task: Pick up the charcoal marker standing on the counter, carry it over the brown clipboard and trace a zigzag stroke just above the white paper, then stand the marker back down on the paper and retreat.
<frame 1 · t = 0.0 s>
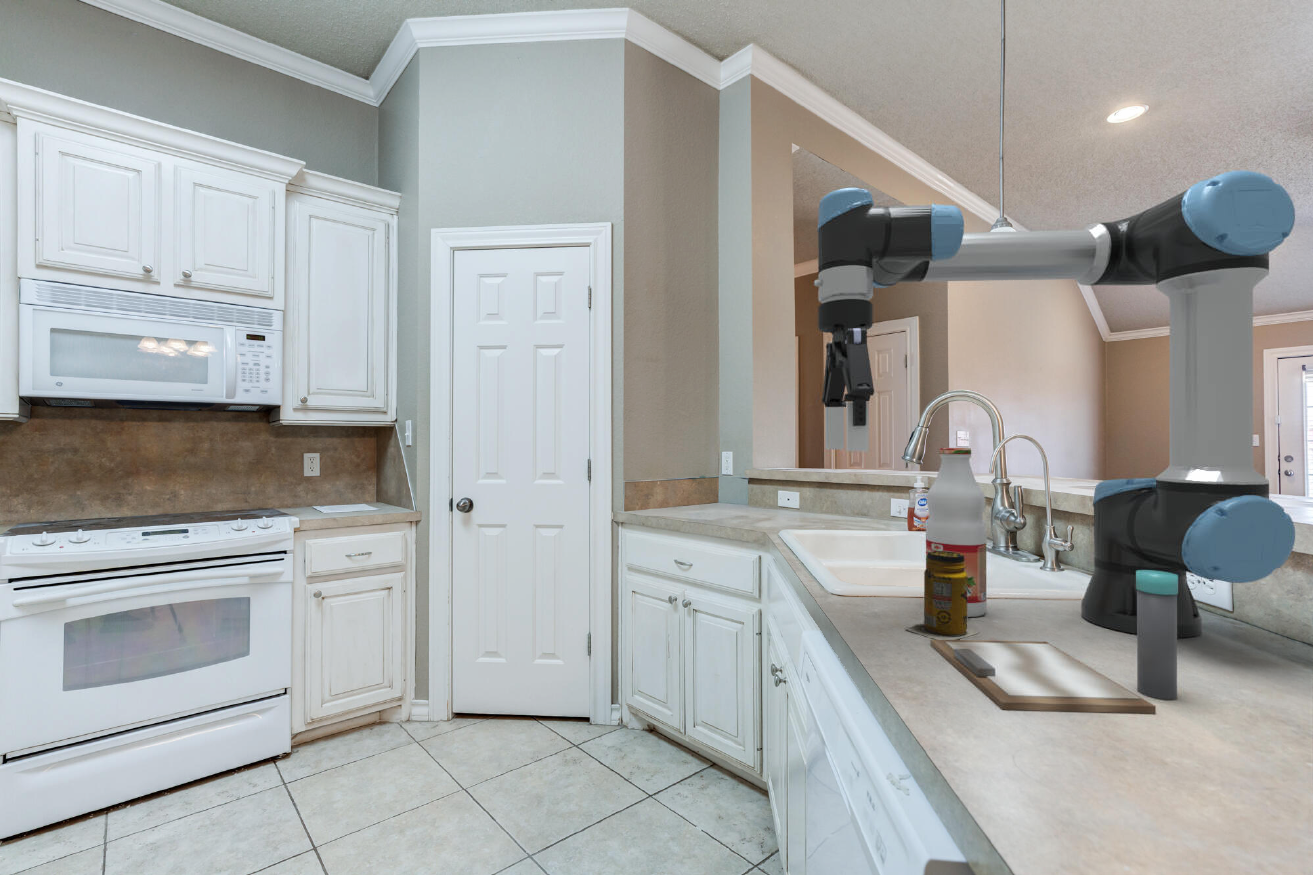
hand: (845, 450, 89), 28 cm above the countertop, fingers open, 13 cm apart
fruit juice: (955, 611, 106), on the countertop
marker: (1156, 693, 72), on the countertop
clipboard: (1027, 674, 78), on the countertop
condiment: (941, 633, 95), on the countertop
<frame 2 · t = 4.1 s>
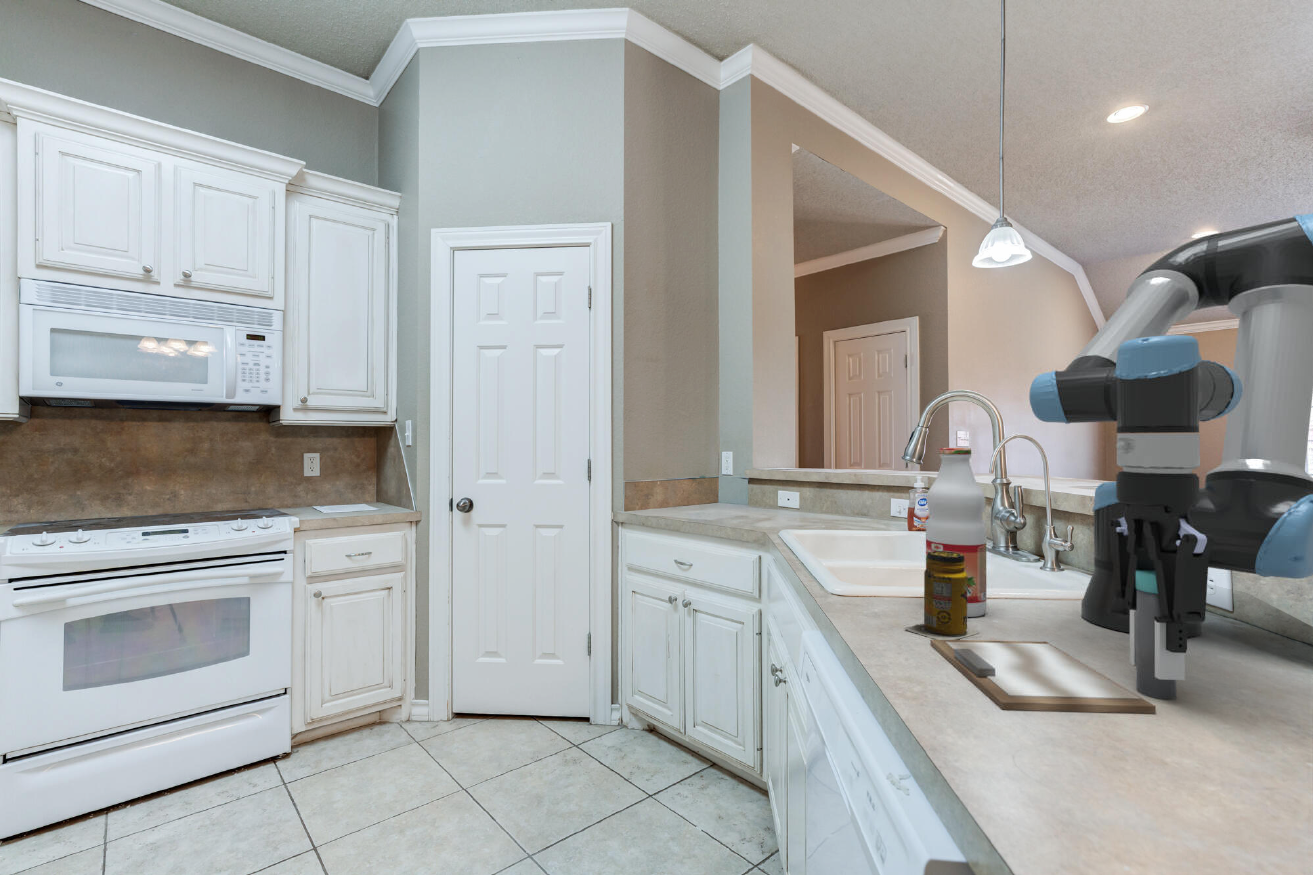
hand: (1156, 671, 72), 3 cm above the countertop, fingers closed on marker, 3 cm apart
marker: (1156, 692, 72), on the countertop, touching gripper
everything else where it was.
when the fingers open (4 cm above the countertop, at t = 14.2 s): marker stays where it is, resting on clipboard.
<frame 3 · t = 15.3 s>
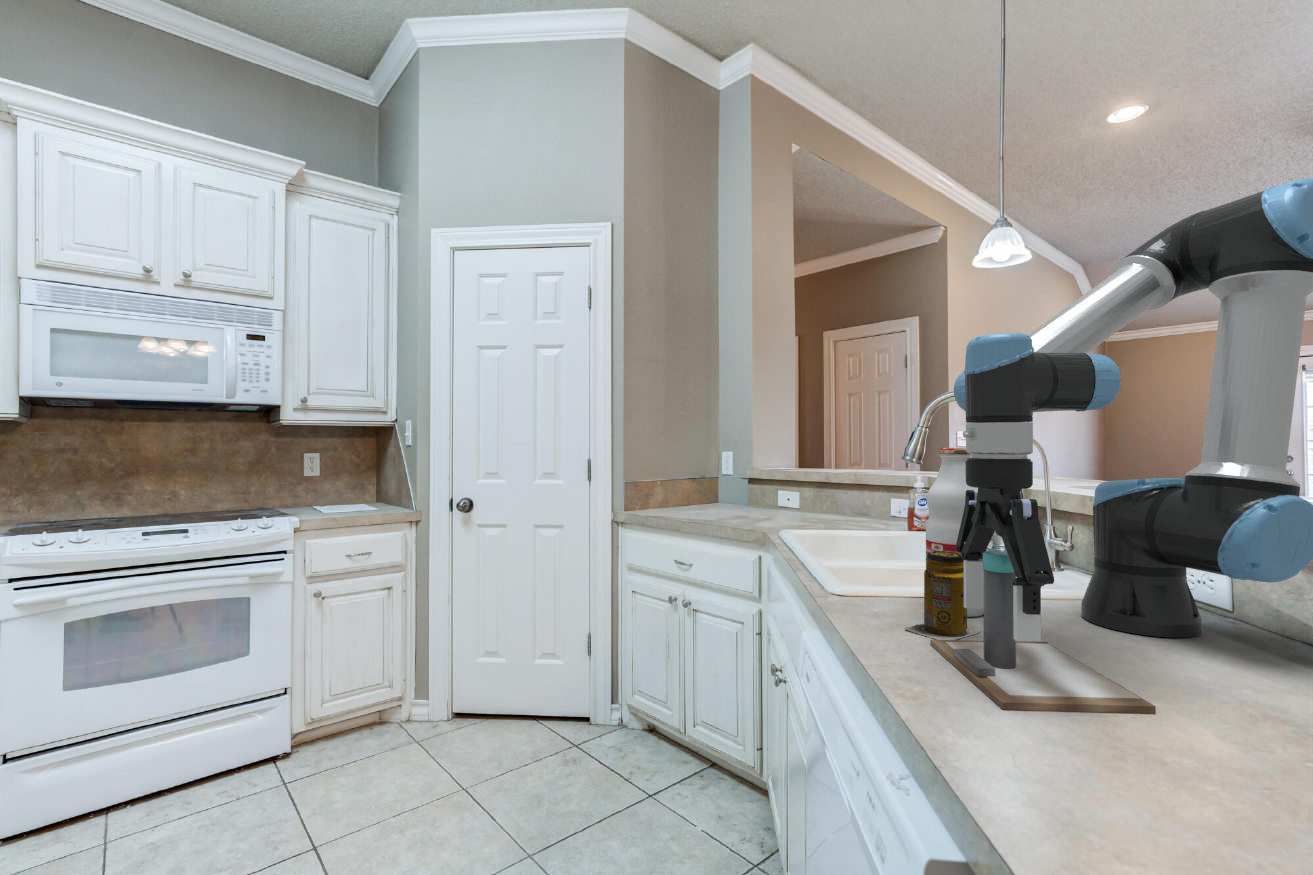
hand: (998, 622, 79), 6 cm above the countertop, fingers open, 13 cm apart
marker: (999, 663, 79), point 1 cm above the countertop, touching clipboard
everything else where it was.
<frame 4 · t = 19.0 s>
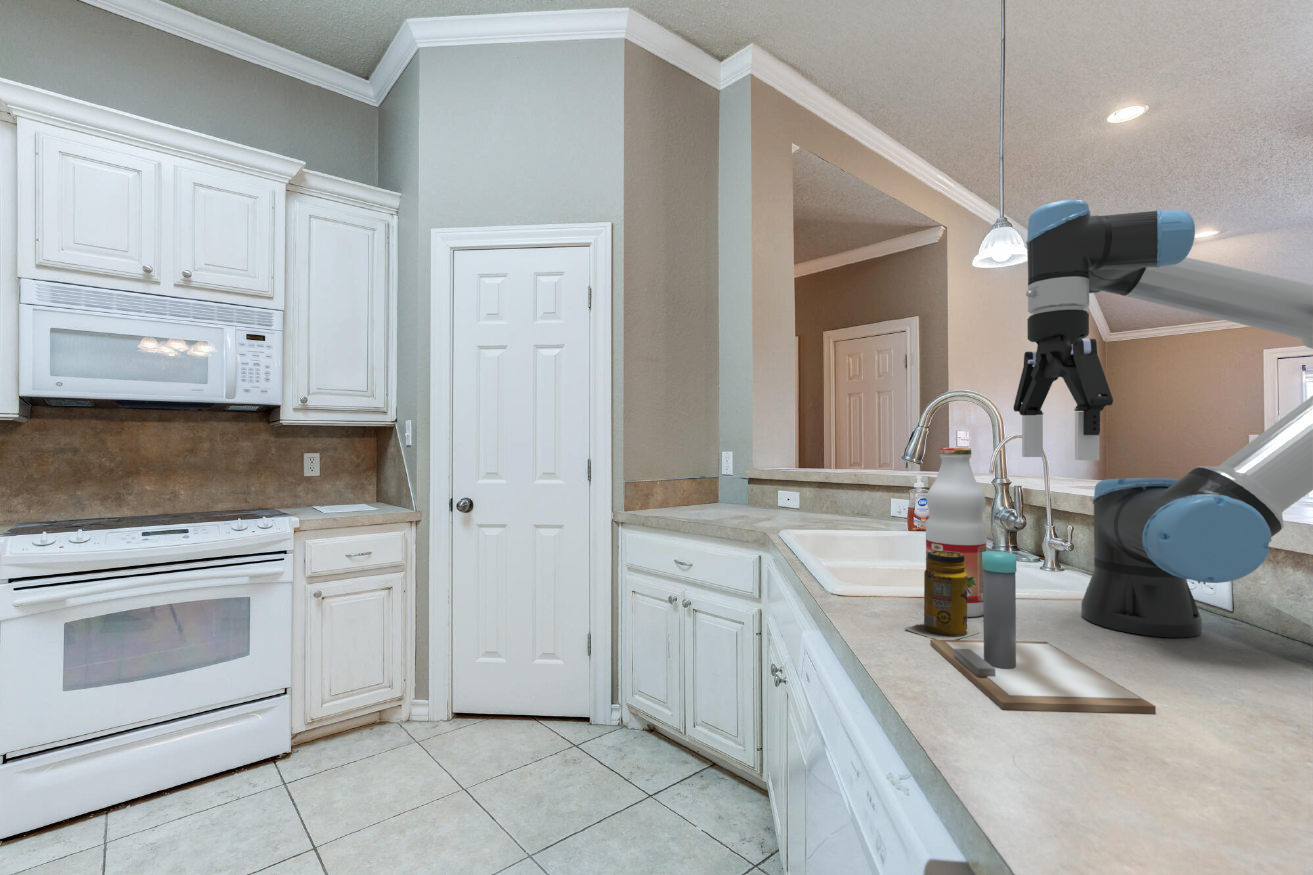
hand: (1057, 458, 90), 27 cm above the countertop, fingers open, 13 cm apart
nothing on the countertop moved.
at the end: marker inside the target area on the clipboard (3.1 cm from its centre), point 1.0 cm above the clipboard's base; marker tilted 0°; the gripper is holding nothing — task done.
